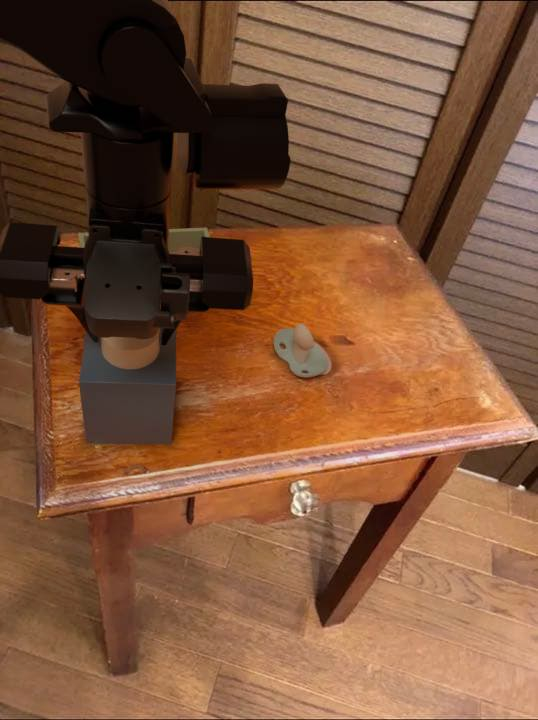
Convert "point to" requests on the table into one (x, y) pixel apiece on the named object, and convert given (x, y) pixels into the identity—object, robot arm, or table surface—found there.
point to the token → (130, 351)
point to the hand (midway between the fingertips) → (130, 340)
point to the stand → (128, 397)
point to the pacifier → (302, 352)
